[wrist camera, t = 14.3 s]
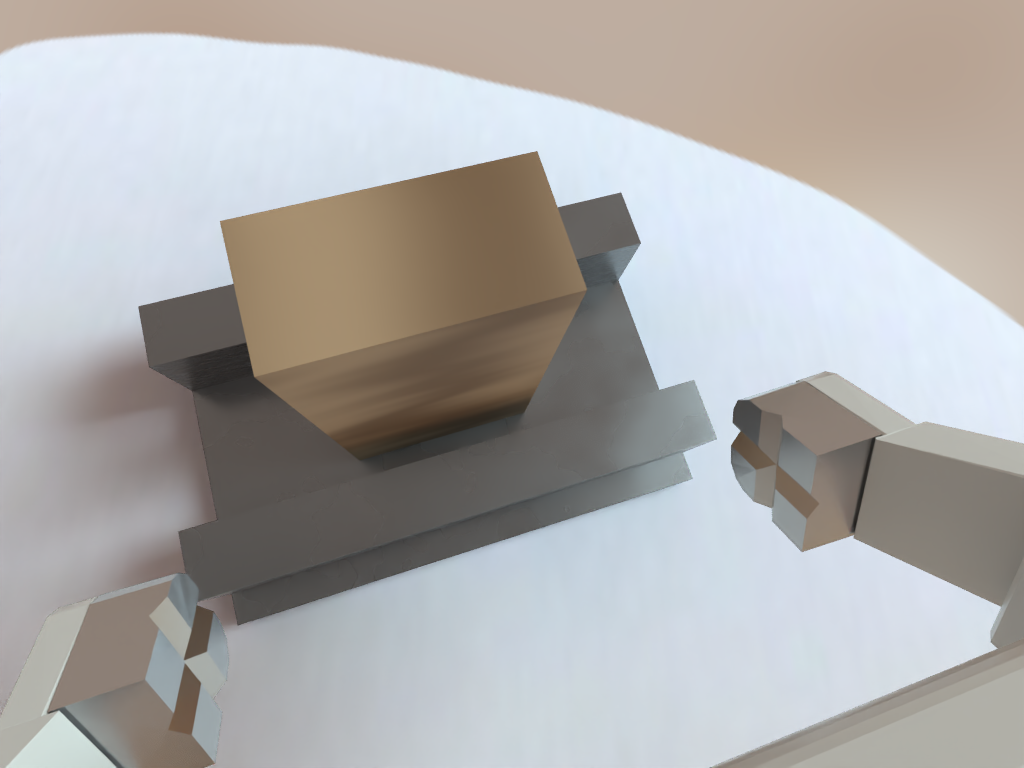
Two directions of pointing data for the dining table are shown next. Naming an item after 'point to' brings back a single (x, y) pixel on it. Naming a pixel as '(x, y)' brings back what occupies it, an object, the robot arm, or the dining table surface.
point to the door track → (419, 447)
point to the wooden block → (408, 302)
